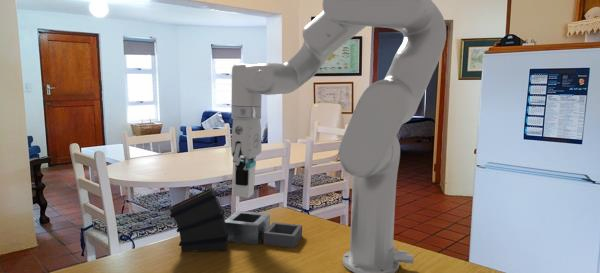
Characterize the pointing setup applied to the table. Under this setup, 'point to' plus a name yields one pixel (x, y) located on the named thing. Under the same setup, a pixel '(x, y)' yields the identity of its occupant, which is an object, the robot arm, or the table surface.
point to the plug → (249, 189)
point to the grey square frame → (283, 235)
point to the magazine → (201, 223)
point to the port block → (247, 227)
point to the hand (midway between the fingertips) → (245, 182)
